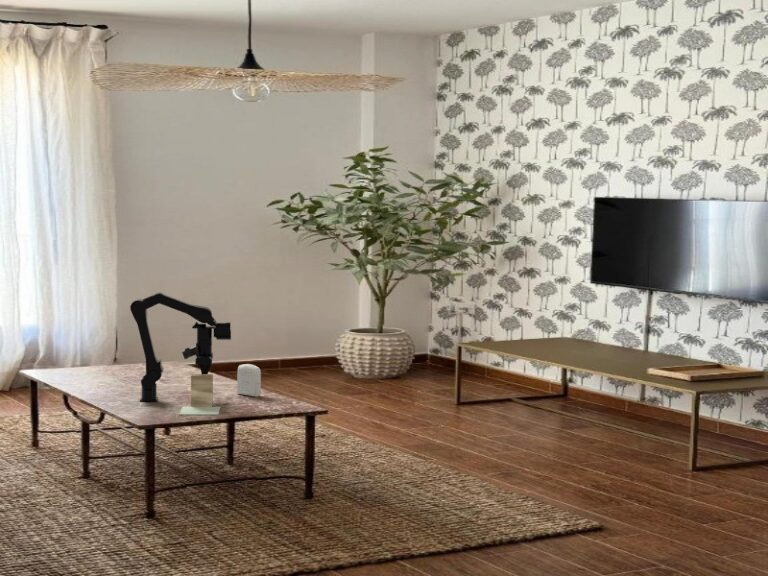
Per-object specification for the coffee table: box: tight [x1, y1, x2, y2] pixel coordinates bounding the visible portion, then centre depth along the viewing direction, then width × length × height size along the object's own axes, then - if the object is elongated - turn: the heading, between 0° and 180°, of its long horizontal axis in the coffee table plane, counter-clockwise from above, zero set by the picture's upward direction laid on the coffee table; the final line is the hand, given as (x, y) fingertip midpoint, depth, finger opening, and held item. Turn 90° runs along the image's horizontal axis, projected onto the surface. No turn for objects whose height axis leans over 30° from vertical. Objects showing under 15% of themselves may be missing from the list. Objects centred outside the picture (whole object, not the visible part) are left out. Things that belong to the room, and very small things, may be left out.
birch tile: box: [190, 373, 214, 407], centre depth 435 cm, size 4×8×12 cm, turn 95°
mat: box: [179, 406, 221, 416], centre depth 426 cm, size 14×14×1 cm
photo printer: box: [236, 363, 262, 398], centre depth 460 cm, size 10×4×12 cm, turn 56°
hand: (204, 379), depth 447 cm, fingers closed
